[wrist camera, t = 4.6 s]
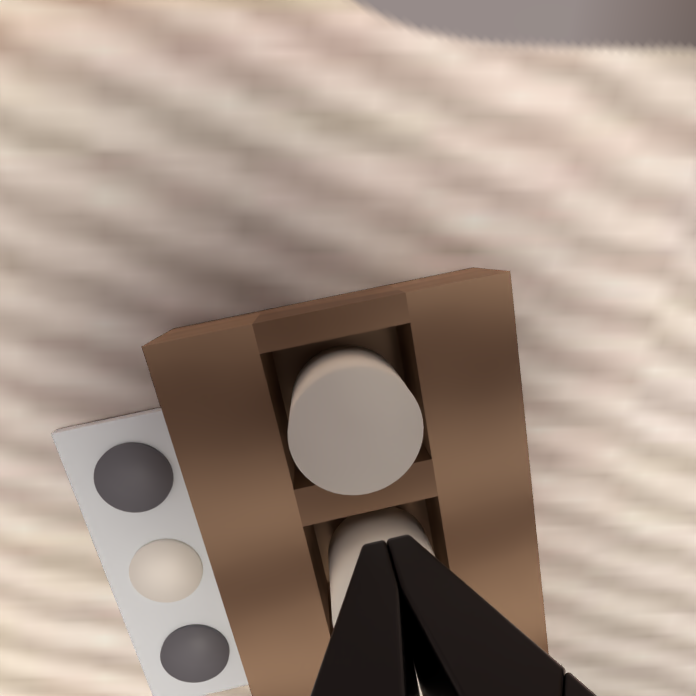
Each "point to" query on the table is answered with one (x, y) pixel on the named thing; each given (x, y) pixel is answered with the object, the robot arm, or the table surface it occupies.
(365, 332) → the button board
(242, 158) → the table surface
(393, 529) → the button middle
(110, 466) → the card
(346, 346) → the button
